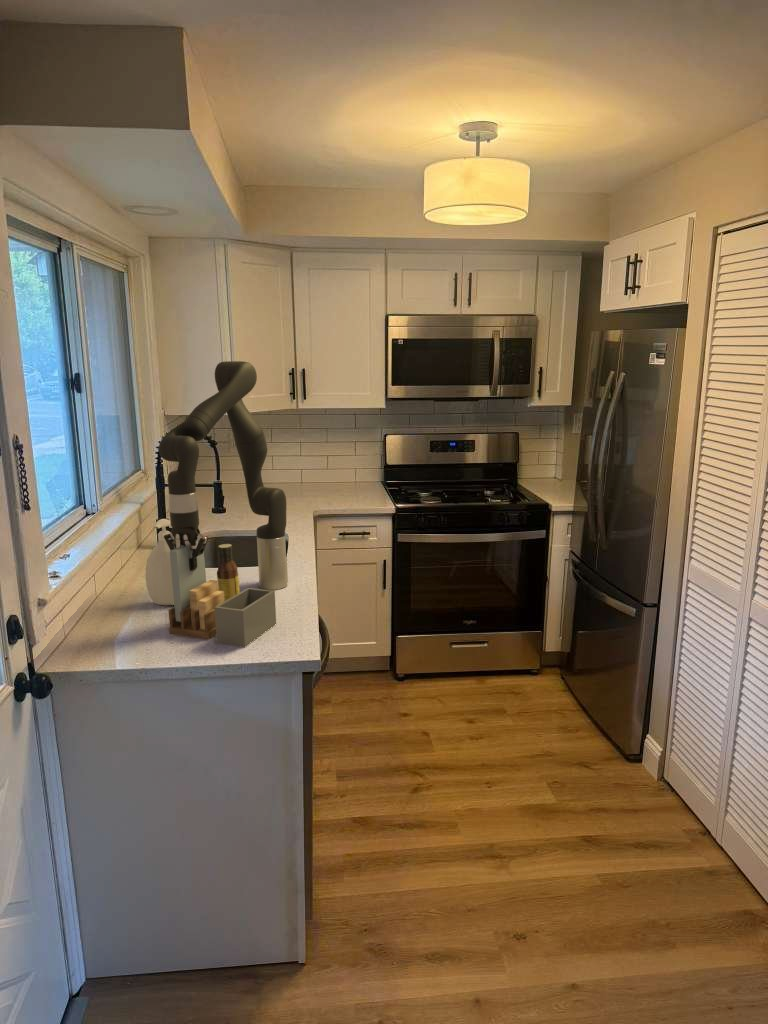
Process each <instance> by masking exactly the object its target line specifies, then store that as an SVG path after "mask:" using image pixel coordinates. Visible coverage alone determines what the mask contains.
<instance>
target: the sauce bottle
mask: <svg viewBox="0 0 768 1024" xmlns="http://www.w3.org/2000/svg"><path fill="white" fill-rule="evenodd" d="M217 551H218V554H219V562H218V567H217V571H216V579H217V580H216V581H217V587H218V591H224V599H225V601H226V600H228V599H230V598H231V597H233V596H235V595H237V594H238V593H240V592H241V591H240V580H239V579H240V578H239V573H238V566H237V564H236V562H235V561H234V560H233V552H232V551H233V545H232V544H230V543H223V544H218V546H217Z"/></svg>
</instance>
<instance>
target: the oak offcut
mask: <svg viewBox="0 0 768 1024" xmlns="http://www.w3.org/2000/svg"><path fill="white" fill-rule="evenodd" d="M216 591H218V581H217V580H215V579H209V580H206V582H205V583H203V584H202V585H200V586H198V587H196V588H194V589H192V590H190V591H189V595H190V608H191V621H192V613H193V612H194V611H196V610H198V609H199V605H198V601H199V600H201V599H203V598H205V597H207V596H208V595H210V594H212V593H214V592H216ZM192 625H193V621H192Z"/></svg>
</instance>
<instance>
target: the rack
mask: <svg viewBox="0 0 768 1024" xmlns="http://www.w3.org/2000/svg"><path fill="white" fill-rule="evenodd" d="M167 611H168V620H169V626H168V631H169V632H168V633H169V635H175V636H182V637H188V638H195V639H200V640H201V639H203V640H211V639H213V638H214V637H216V623H215V609H213V610H211V611H209V612H207V613H206V614H204V623H205V630H204V629H200V619H199V609H198V610H196V611H194V612H193V613H192V621H193V625H192V621H191V608H190V606H189V607H187V608H185V609H184V610H182V611H180V617H181V622H178V621H176V618H175V606H172V607H171V608H170V609H168V610H167Z"/></svg>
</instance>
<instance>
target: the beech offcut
mask: <svg viewBox="0 0 768 1024" xmlns="http://www.w3.org/2000/svg"><path fill="white" fill-rule="evenodd" d="M224 601H225V599H224V591H216V592H214V593H212V594H210V595H208V596H207V597H205V598H203V599H201V600H199V601H198V605H199V619H200V629H204V630H205V623H204V614H206V613H207V612H209V611H211V610H213V609H214V607H216V606H218V605H219V604H221V603H223V602H224Z"/></svg>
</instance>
